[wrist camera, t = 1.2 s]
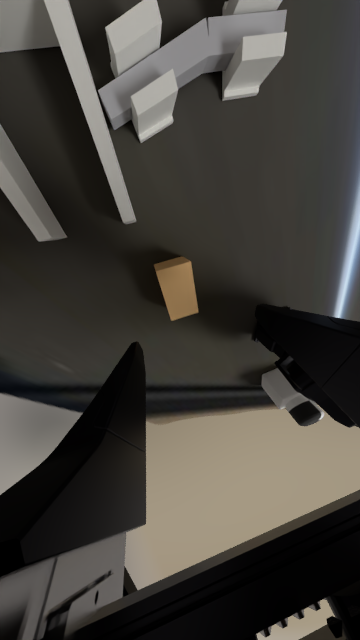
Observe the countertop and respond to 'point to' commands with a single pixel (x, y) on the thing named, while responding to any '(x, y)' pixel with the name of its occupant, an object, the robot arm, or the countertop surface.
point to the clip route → (187, 59)
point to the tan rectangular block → (177, 287)
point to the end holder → (60, 30)
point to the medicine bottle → (290, 398)
